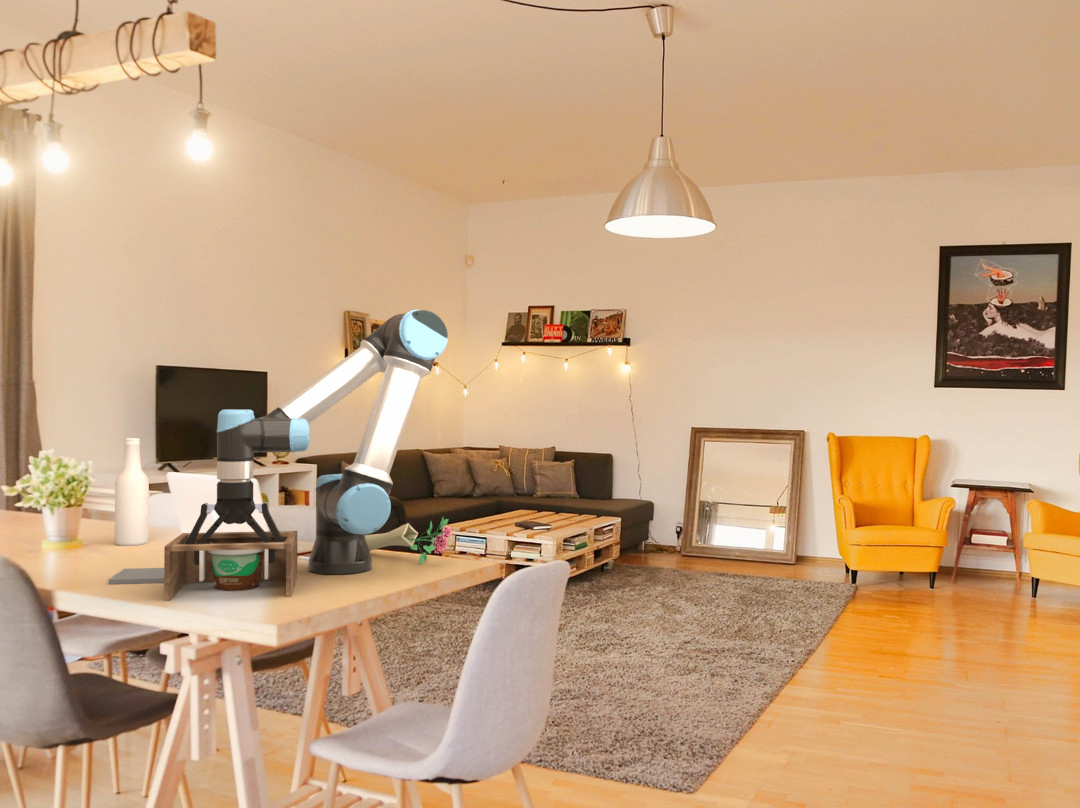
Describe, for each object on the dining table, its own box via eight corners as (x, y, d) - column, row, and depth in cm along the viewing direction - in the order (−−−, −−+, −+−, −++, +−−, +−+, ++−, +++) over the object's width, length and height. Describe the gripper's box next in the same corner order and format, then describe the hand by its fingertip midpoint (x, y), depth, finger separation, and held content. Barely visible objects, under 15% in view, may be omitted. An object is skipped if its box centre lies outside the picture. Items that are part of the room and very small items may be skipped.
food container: (201, 592, 199) (202, 545, 199) (208, 587, 205) (208, 541, 205) (261, 591, 200) (261, 544, 200) (266, 585, 207) (266, 540, 207)
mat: (186, 571, 224) (186, 567, 224) (175, 582, 210) (175, 577, 210) (124, 573, 221) (124, 568, 221) (108, 584, 207) (108, 579, 207)
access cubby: (297, 578, 215) (297, 530, 215) (291, 596, 195) (291, 543, 195) (182, 582, 210) (182, 533, 210) (164, 600, 191) (164, 546, 190)
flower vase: (373, 580, 253) (471, 564, 233) (339, 572, 244) (437, 555, 224) (377, 537, 258) (472, 518, 238) (343, 528, 249) (439, 508, 229)
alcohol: (123, 541, 271) (123, 437, 271) (153, 541, 271) (154, 437, 271) (109, 546, 262) (109, 438, 262) (140, 546, 262) (141, 438, 262)
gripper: (295, 478, 209) (295, 574, 209) (178, 479, 204) (177, 577, 204) (293, 481, 201) (292, 580, 201) (171, 482, 197) (170, 584, 197)
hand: (234, 579), depth 203 cm, fingers open, 13 cm apart
